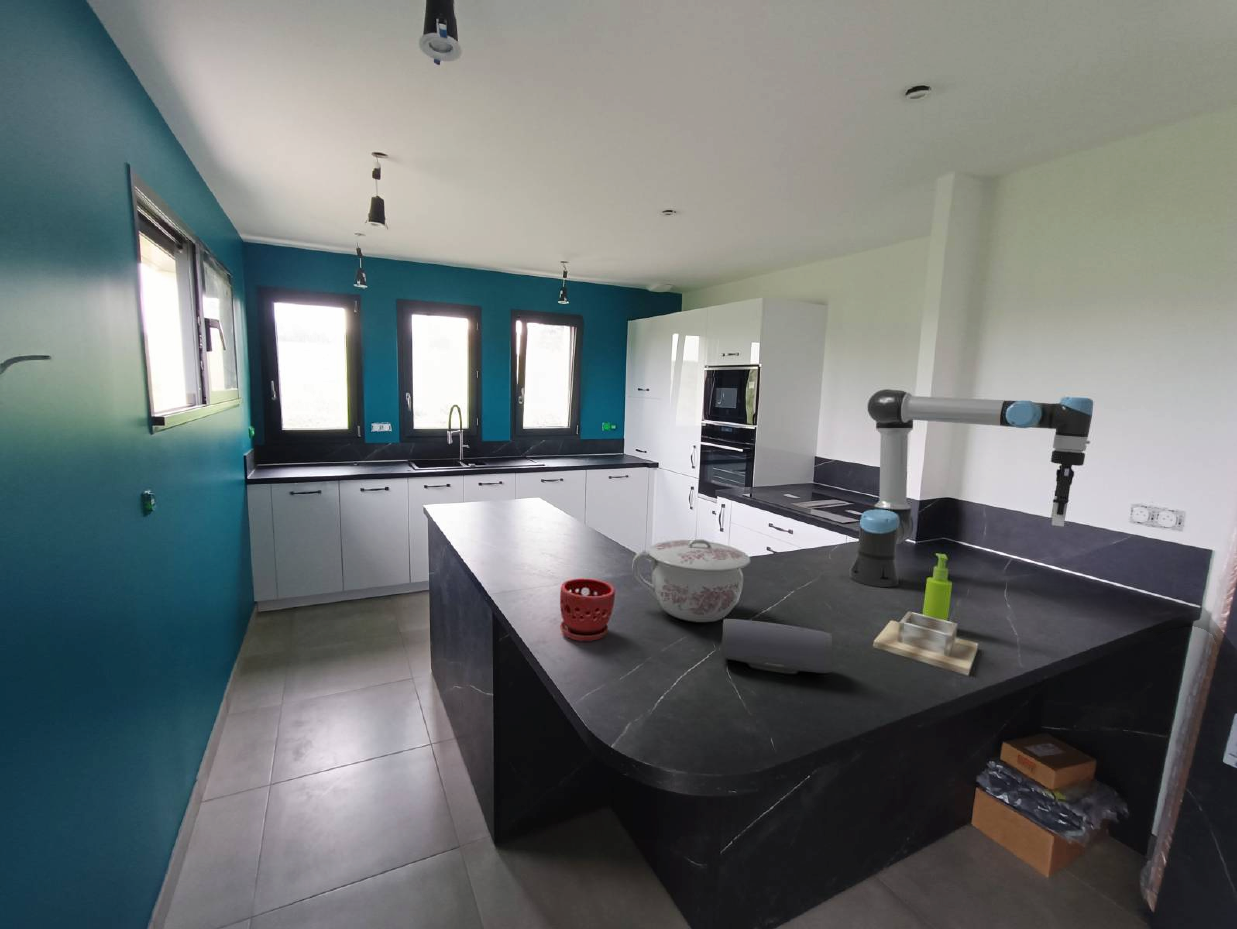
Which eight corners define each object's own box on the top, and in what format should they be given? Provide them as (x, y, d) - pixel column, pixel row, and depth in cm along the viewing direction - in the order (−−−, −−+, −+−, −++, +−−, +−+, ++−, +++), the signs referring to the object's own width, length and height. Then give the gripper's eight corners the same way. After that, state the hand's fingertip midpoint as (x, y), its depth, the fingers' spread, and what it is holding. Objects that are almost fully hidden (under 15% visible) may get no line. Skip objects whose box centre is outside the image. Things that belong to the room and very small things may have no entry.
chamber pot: (764, 615, 153) (771, 542, 150) (708, 644, 133) (714, 560, 130) (682, 587, 172) (686, 522, 169) (622, 609, 151) (626, 535, 149)
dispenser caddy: (872, 646, 136) (875, 621, 135) (890, 625, 150) (893, 602, 149) (968, 675, 124) (972, 647, 123) (977, 649, 138) (981, 624, 137)
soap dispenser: (942, 623, 153) (951, 553, 151) (948, 633, 147) (958, 560, 144) (918, 620, 155) (927, 550, 152) (923, 629, 148) (932, 557, 146)
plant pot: (571, 649, 126) (573, 598, 125) (550, 626, 138) (552, 580, 136) (621, 640, 132) (624, 592, 131) (598, 619, 144) (600, 574, 142)
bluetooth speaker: (823, 666, 125) (828, 623, 123) (829, 686, 116) (834, 641, 114) (721, 650, 130) (724, 609, 128) (719, 669, 121) (722, 625, 119)
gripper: (1088, 454, 149) (1075, 531, 152) (1082, 450, 169) (1071, 518, 172) (1053, 451, 154) (1041, 526, 157) (1051, 447, 174) (1041, 513, 177)
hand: (1056, 522), depth 164 cm, fingers open, 13 cm apart
